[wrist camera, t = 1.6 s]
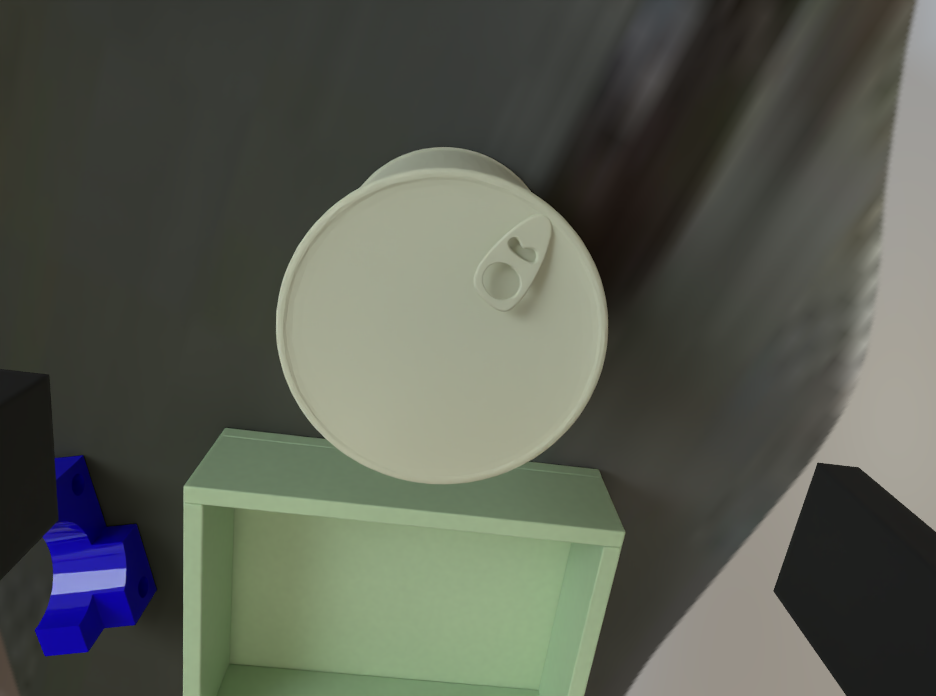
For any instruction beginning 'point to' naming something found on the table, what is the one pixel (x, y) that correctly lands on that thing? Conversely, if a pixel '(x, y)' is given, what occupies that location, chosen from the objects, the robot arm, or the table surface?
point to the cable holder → (90, 568)
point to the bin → (389, 576)
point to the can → (442, 321)
